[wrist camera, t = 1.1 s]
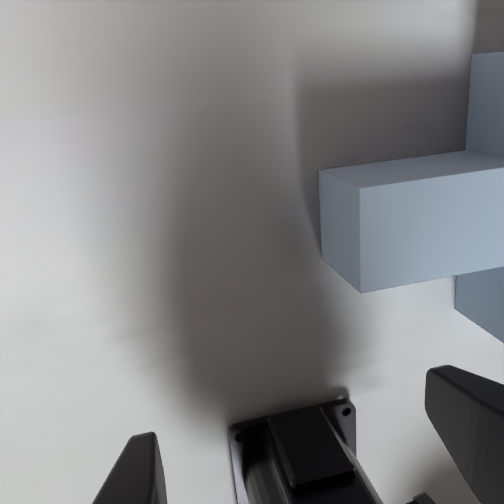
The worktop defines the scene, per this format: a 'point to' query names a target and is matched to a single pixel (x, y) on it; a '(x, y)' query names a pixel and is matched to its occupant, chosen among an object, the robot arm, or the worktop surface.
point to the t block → (429, 211)
